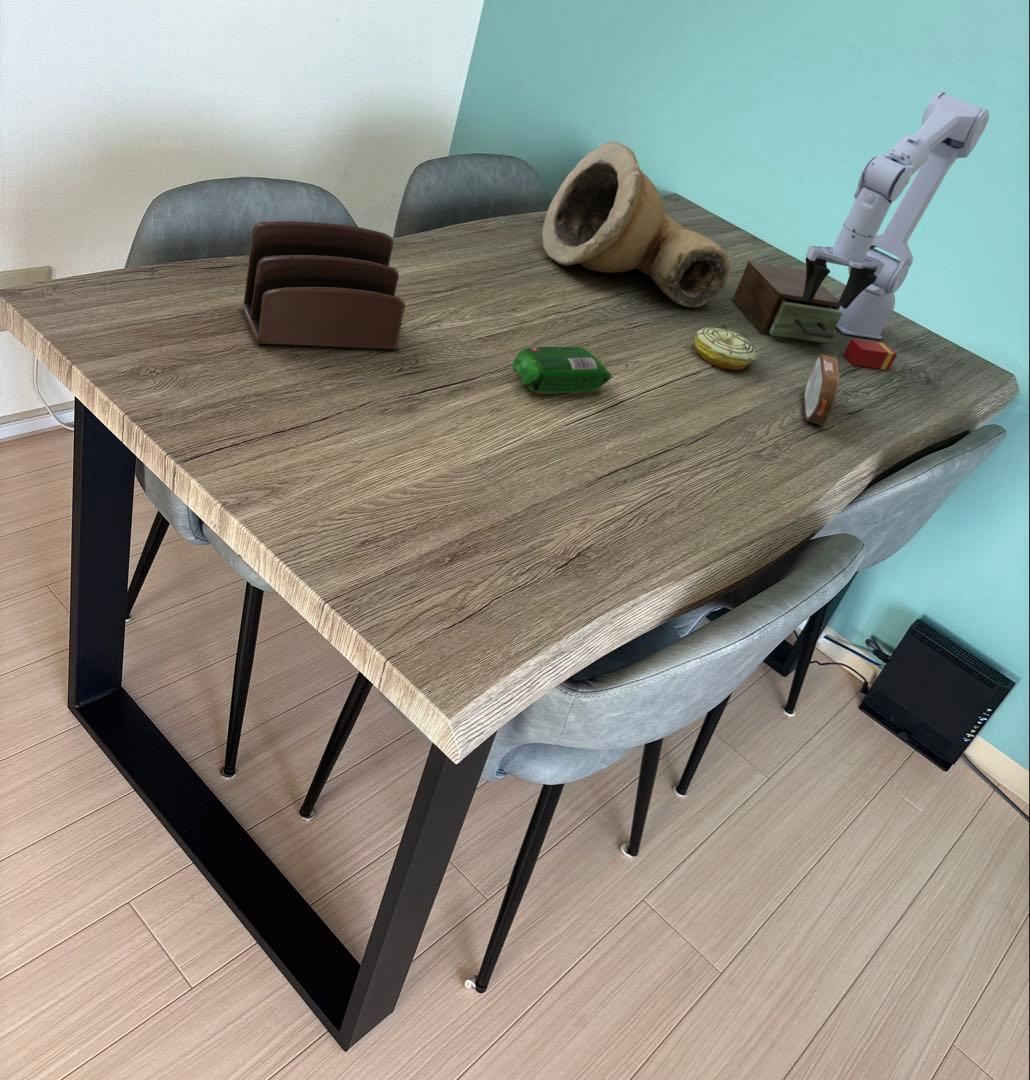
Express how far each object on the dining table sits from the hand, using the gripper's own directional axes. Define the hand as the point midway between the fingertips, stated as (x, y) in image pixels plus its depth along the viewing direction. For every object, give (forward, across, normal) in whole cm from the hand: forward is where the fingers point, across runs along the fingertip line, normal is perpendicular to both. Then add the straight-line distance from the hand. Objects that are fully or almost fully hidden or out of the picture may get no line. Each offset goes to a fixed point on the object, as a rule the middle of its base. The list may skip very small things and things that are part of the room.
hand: (824, 303), depth 182 cm
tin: (+10, -10, -23) cm, 27 cm away
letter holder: (+10, -89, -19) cm, 92 cm away
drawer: (+9, 0, +6) cm, 11 cm away
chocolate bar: (+9, +13, -1) cm, 16 cm away
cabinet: (+9, 0, +11) cm, 15 cm away
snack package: (+10, -55, -26) cm, 61 cm away
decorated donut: (+10, -20, -8) cm, 24 cm away
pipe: (+10, -28, +21) cm, 37 cm away
